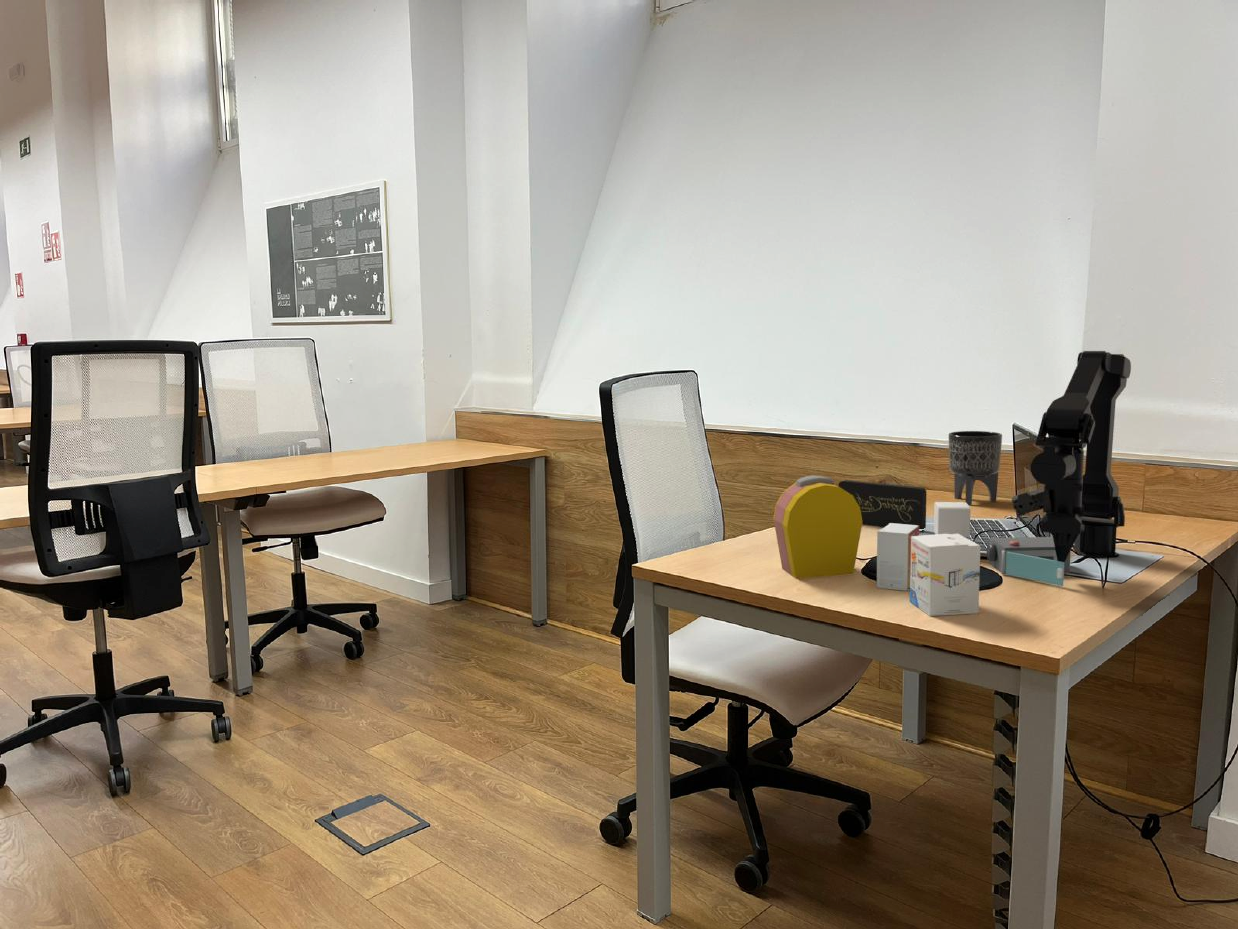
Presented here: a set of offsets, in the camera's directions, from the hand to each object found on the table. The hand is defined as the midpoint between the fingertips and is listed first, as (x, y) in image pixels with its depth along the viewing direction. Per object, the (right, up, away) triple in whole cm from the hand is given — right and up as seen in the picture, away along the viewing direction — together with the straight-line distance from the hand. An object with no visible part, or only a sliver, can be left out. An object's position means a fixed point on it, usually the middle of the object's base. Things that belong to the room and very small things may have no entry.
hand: (1061, 562), depth 166 cm
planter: (+12, +8, +74) cm, 75 cm away
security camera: (-12, -1, +23) cm, 26 cm away
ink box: (-26, -6, -13) cm, 30 cm away
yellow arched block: (-42, -3, +11) cm, 43 cm away
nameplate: (-19, +3, +49) cm, 52 cm away
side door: (-5, -3, 0) cm, 6 cm away
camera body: (-2, -2, +9) cm, 10 cm away
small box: (-29, -4, +1) cm, 30 cm away
